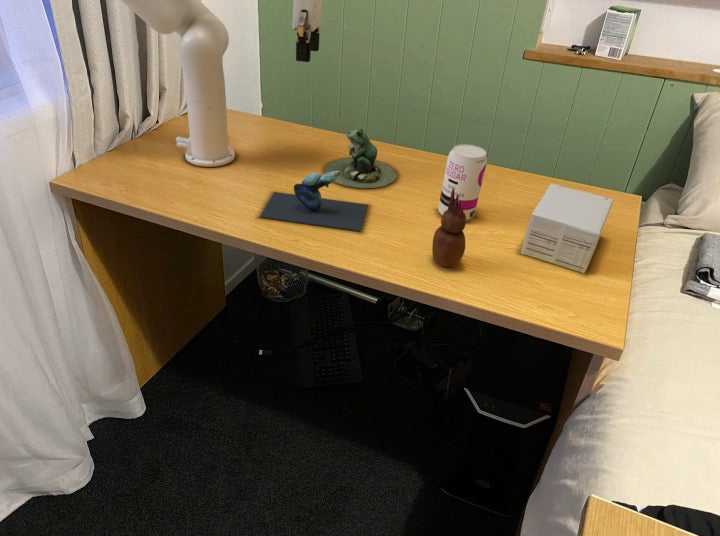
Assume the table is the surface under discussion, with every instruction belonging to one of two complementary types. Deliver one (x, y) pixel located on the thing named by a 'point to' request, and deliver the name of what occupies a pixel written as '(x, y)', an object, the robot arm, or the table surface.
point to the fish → (313, 189)
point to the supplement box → (566, 227)
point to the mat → (315, 212)
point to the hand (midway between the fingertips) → (307, 55)
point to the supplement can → (463, 178)
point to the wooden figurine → (450, 235)
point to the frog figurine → (361, 164)
